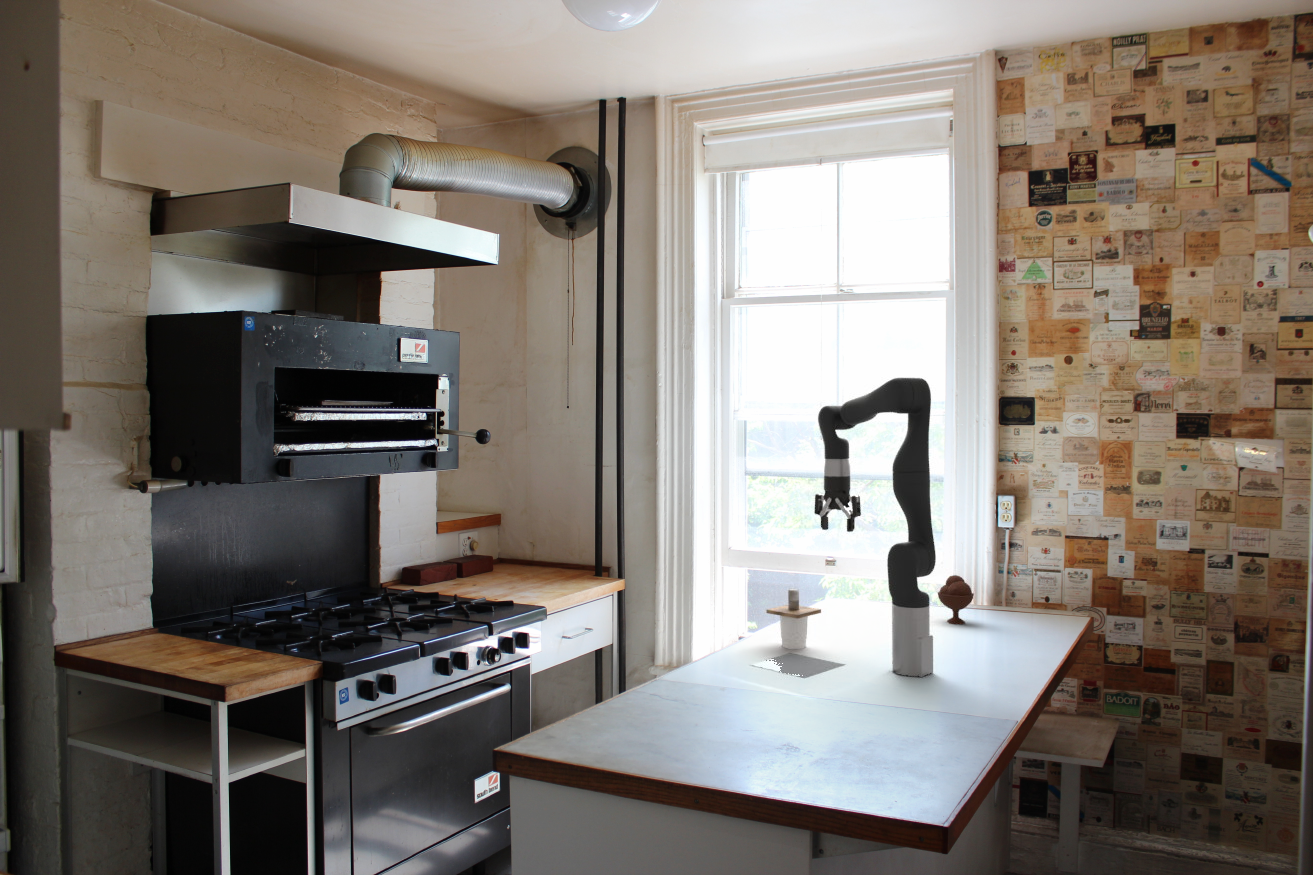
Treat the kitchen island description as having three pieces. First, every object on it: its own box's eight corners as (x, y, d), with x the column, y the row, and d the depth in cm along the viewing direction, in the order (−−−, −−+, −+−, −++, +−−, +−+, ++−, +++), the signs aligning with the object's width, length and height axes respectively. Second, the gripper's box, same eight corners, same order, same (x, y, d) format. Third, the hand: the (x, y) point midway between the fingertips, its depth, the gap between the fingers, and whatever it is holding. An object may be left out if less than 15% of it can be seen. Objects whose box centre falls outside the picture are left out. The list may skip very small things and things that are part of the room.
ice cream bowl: (930, 620, 286) (930, 574, 286) (957, 617, 291) (956, 572, 291) (954, 627, 277) (954, 579, 277) (981, 623, 281) (981, 576, 281)
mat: (845, 666, 231) (845, 664, 231) (804, 679, 219) (804, 677, 219) (790, 654, 244) (790, 652, 244) (748, 666, 232) (748, 664, 232)
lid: (821, 612, 252) (820, 589, 252) (797, 618, 244) (797, 595, 244) (790, 607, 260) (789, 585, 260) (766, 612, 252) (766, 590, 252)
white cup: (799, 652, 247) (799, 616, 247) (775, 648, 251) (774, 613, 251) (812, 646, 253) (812, 612, 253) (788, 643, 258) (788, 608, 258)
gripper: (865, 474, 253) (865, 531, 253) (823, 473, 263) (824, 527, 263) (850, 475, 248) (851, 533, 248) (809, 474, 258) (809, 529, 258)
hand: (837, 530), depth 255 cm, fingers open, 8 cm apart
